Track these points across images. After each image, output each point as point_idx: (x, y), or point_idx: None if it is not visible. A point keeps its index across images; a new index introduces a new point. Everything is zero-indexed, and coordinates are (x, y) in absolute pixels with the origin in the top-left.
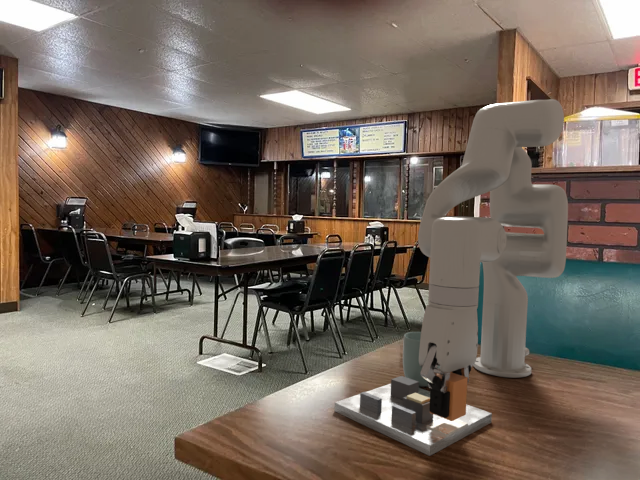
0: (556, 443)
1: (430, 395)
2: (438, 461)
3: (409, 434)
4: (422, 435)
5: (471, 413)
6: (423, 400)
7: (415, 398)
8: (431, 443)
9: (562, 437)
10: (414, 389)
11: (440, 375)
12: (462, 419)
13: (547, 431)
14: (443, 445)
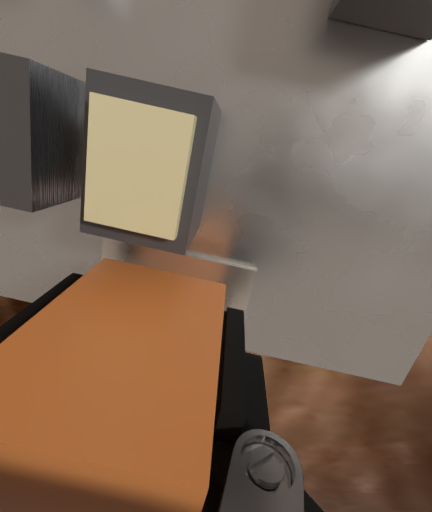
0: (332, 494)
1: (16, 317)
2: (21, 307)
3: (4, 208)
4: (37, 250)
5: (355, 330)
6: (105, 223)
7: (97, 167)
8: (13, 294)
9: (379, 503)
10: (424, 1)
11: (7, 482)
12: (273, 319)
13: (401, 478)
14: None
